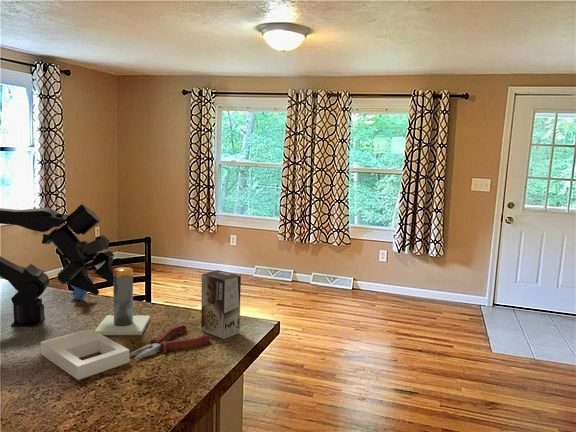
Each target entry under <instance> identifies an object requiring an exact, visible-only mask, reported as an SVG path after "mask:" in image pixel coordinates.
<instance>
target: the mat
mask: <svg viewBox="0 0 576 432" xmlns="http://www.w3.org/2000/svg"><path fill="white" fill-rule="evenodd" d="M150 320H151V315H133V323H132V324H131V325H128V326H115V325H114V314H113V315H111V314H110V315H108V314H107V315H106V316H105V317H104V318H103V319H102V321H101V322H100V324H99V325H97V327H96V328H95V330H94V331H96V332H97V333H99V334H101V335H103V336H142V335H143V334H144V332H145V329H146V328H147V327H148V324H149V322H150Z"/></svg>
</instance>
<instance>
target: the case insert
mask: <svg viewBox="0 0 576 432" xmlns="http://www.w3.org/2000/svg"><path fill="white" fill-rule="evenodd" d="M97 353H100V354H99V355H96V356H92V357H89V358H86V359H83V360H82V359H80V358H84V357H87V356H89V355H93V354H97ZM40 354H41V355H42V356H43V357H44V358H46V359H48V360H49V361H51V362H52V363H53V364H54V365H56V366H57V367H59V368H60V369H62V370H63V371H65V372H66V373H67V374H68V375H70V376H71V377H73V378H75V380H77V381H79V380H83V379H85V378H89V377H91V376H94V375H96V374H99V373H102V372H106V371H107V370H110V369H113V368H117V367H119V366H123V365H125V364H128V363H130V356H129V354H130V349H128V348H127V347H126V346H123V345H121V344H119V343H118V342H116V341H114V340H112V339H110V338H109V337H107V336H106V335H101V334H99V333H97V332H96V331H95V330H93V329H92V328H87V329H83V330H80V331H75V332H72V333H69V334H65V335H60V336H57V337H52V338H50V339H46V340H42V341H40Z"/></svg>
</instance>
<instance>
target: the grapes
mask: <svg viewBox="0 0 576 432" xmlns="http://www.w3.org/2000/svg"><path fill="white" fill-rule="evenodd" d="M88 277H89V278H90V279H91V281H92V282H93V283H94V279H93V278H92V277H91V276H89V275H88ZM69 286H70V287H71V288H72V289H74V290H73V291H72V292H71V295H72V296H74V299H75V300H77V301H82V300H83V299H84V298H85V296H86V295H87V294H88V292H87V291H85V290H82V289H80V288H77V287H74V286H72V285H69Z"/></svg>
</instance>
